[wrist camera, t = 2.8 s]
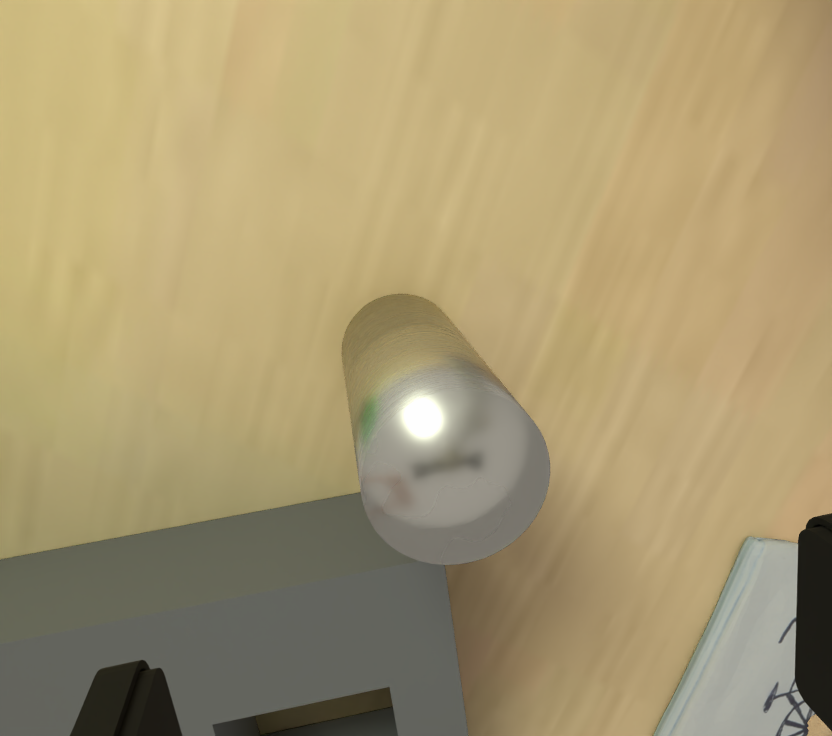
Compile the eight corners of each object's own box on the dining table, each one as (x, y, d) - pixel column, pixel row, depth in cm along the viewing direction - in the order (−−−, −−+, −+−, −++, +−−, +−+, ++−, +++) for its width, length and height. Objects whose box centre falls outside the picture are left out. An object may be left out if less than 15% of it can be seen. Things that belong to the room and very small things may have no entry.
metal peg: (450, 285, 24) (542, 373, 14) (463, 395, 25) (556, 545, 15) (332, 304, 23) (345, 407, 14) (351, 415, 24) (376, 581, 15)
